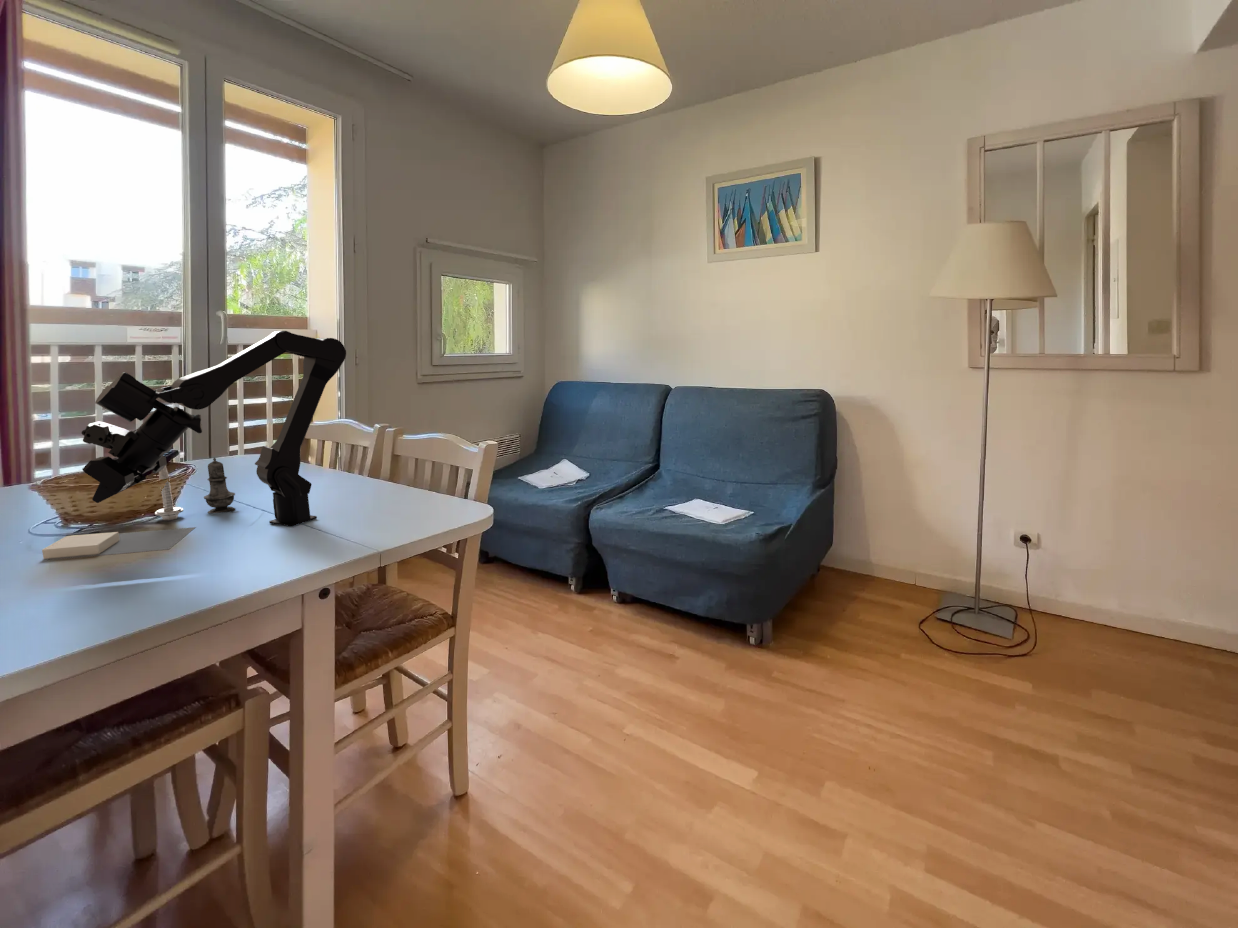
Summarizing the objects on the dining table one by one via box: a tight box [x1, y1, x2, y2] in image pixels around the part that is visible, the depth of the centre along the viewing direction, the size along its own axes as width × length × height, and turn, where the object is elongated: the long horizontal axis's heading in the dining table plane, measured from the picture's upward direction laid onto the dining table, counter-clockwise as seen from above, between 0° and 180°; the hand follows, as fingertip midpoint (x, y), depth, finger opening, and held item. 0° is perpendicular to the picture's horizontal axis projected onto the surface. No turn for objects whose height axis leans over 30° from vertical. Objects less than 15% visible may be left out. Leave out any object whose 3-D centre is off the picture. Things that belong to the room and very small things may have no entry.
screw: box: [154, 465, 184, 521], centre depth 132 cm, size 13×5×5 cm
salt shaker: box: [203, 457, 236, 514], centre depth 139 cm, size 6×6×12 cm
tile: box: [41, 531, 120, 560], centre depth 114 cm, size 2×8×8 cm
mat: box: [47, 526, 197, 561], centre depth 118 cm, size 18×14×1 cm
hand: (95, 501), depth 114 cm, fingers closed
